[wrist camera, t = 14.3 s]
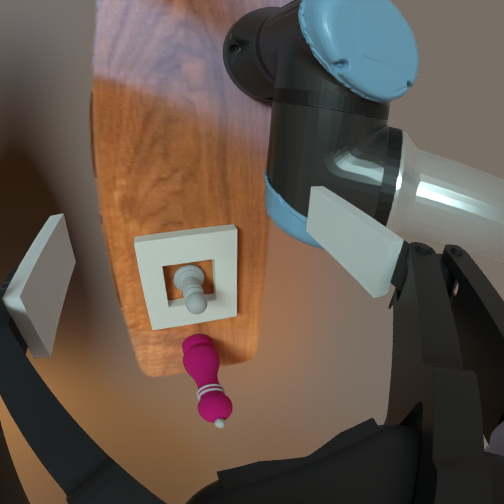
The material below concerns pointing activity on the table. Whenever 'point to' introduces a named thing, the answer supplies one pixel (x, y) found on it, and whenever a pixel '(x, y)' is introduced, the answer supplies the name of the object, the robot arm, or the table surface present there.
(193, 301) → the chess piece
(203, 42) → the table surface
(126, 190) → the table surface
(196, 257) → the socket board
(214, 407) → the pepper mill
